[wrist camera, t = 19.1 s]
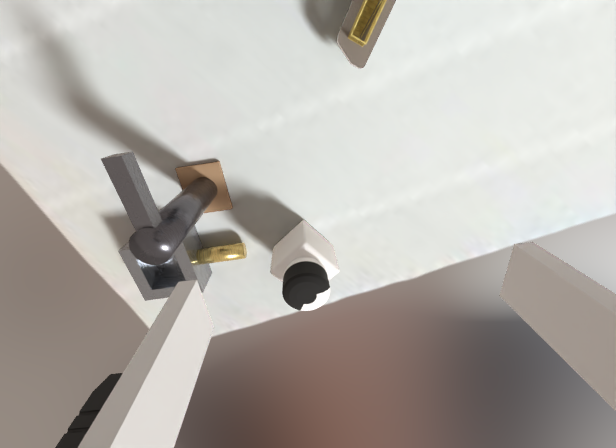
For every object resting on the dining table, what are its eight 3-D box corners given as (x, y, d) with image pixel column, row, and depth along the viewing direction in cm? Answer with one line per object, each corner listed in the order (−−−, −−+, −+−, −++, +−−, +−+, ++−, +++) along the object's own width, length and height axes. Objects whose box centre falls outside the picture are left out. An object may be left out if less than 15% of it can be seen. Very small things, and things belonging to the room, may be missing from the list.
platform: (282, 76, 33) (279, 72, 27) (351, -115, 26) (369, -174, 20) (364, 118, 36) (379, 123, 30) (447, -44, 29) (487, -78, 23)
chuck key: (220, 199, 39) (177, 261, 24) (196, 202, 39) (139, 267, 24) (198, 128, 34) (131, 154, 20) (171, 133, 34) (84, 162, 20)
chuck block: (137, 233, 41) (118, 251, 37) (239, 218, 41) (232, 234, 36) (159, 280, 45) (145, 300, 41) (252, 266, 45) (248, 285, 40)
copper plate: (177, 167, 37) (175, 168, 36) (219, 161, 37) (218, 162, 36) (193, 213, 40) (192, 214, 40) (232, 207, 40) (231, 208, 39)
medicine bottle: (272, 246, 43) (265, 297, 33) (303, 218, 41) (306, 262, 31) (303, 271, 46) (306, 326, 35) (334, 245, 44) (347, 295, 33)
